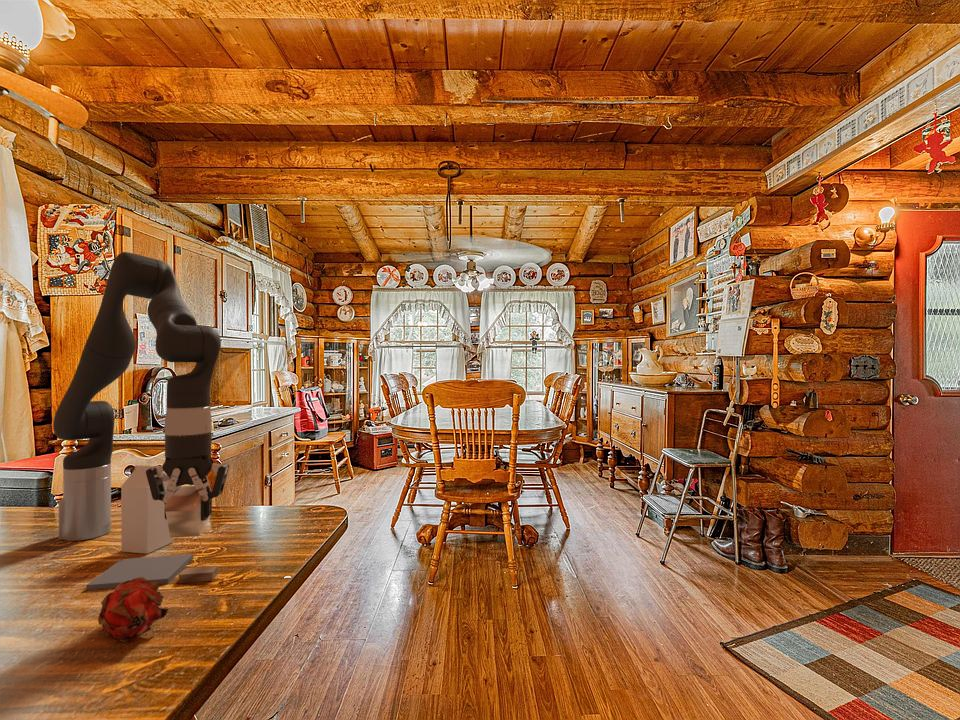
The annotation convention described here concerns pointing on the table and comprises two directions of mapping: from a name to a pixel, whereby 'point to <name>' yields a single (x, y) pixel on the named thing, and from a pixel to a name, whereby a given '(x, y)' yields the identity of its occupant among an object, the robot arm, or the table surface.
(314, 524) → the table surface
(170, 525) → the pinkish tan block
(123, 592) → the dragon fruit
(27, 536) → the table surface
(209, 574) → the block
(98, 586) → the charcoal mat
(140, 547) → the milk carton
